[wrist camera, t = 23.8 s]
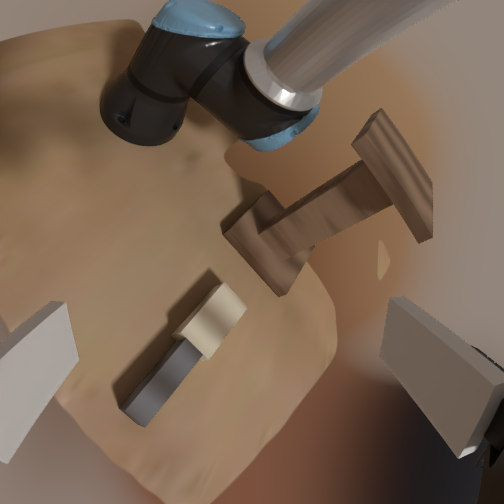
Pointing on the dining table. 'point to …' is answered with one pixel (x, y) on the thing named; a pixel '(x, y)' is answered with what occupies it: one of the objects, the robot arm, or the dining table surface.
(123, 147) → the dining table surface
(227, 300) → the bar
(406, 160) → the stand
